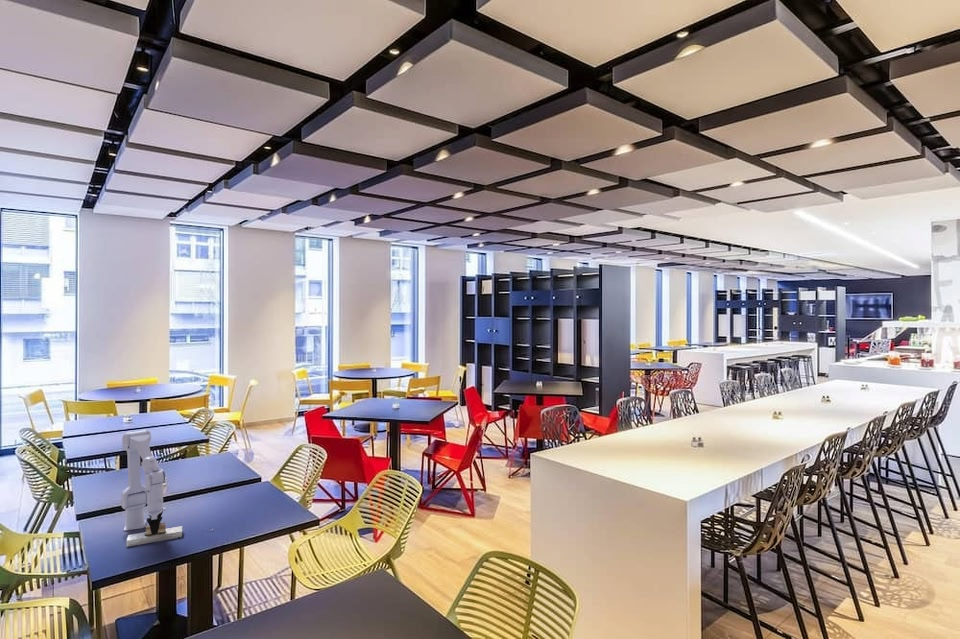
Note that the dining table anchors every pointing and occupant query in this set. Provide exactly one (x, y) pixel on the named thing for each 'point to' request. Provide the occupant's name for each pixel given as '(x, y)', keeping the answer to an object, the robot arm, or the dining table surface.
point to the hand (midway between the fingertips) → (155, 531)
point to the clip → (161, 529)
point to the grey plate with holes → (154, 536)
